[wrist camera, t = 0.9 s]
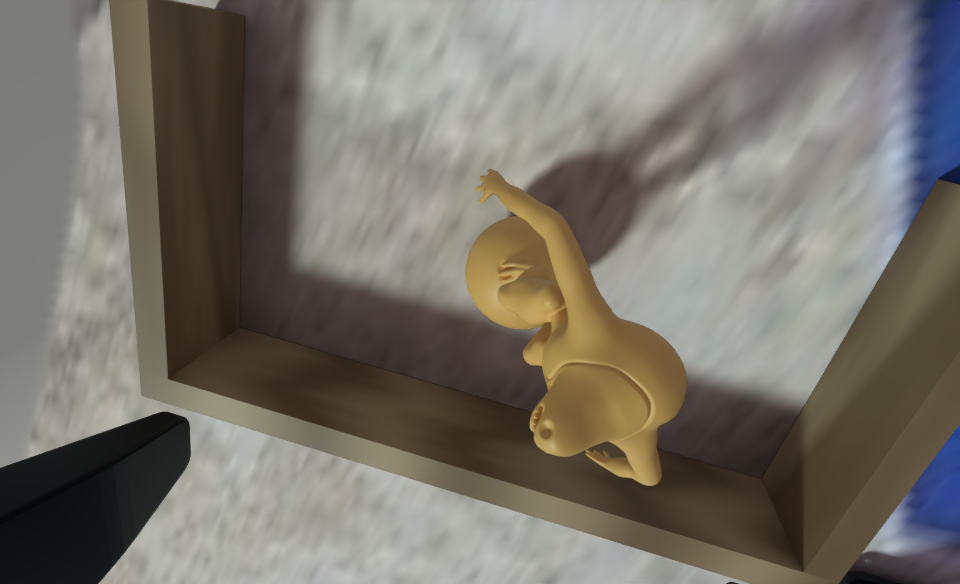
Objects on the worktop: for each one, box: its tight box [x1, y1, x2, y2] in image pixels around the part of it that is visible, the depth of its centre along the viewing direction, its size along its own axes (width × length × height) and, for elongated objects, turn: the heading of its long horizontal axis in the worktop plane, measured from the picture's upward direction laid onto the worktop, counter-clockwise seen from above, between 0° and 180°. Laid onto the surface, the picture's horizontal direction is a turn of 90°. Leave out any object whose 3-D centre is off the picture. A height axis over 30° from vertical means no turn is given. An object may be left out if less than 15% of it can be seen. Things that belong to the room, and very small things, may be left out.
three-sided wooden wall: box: [109, 0, 960, 584], centre depth 18 cm, size 26×14×4 cm, turn 78°
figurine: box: [466, 169, 687, 486], centre depth 14 cm, size 8×6×12 cm
